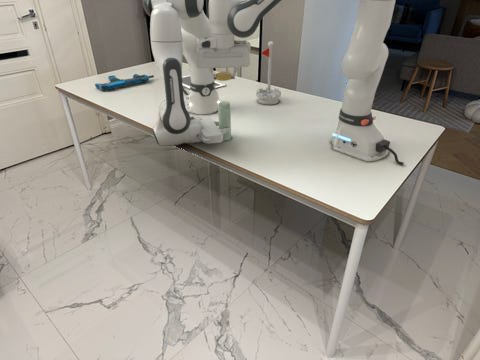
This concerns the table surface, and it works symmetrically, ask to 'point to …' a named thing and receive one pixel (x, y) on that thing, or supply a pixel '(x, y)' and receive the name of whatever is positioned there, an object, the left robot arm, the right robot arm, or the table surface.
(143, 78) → the submachine gun
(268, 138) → the table surface
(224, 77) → the lid
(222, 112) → the pale green cylinder
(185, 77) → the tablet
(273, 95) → the flag stand
